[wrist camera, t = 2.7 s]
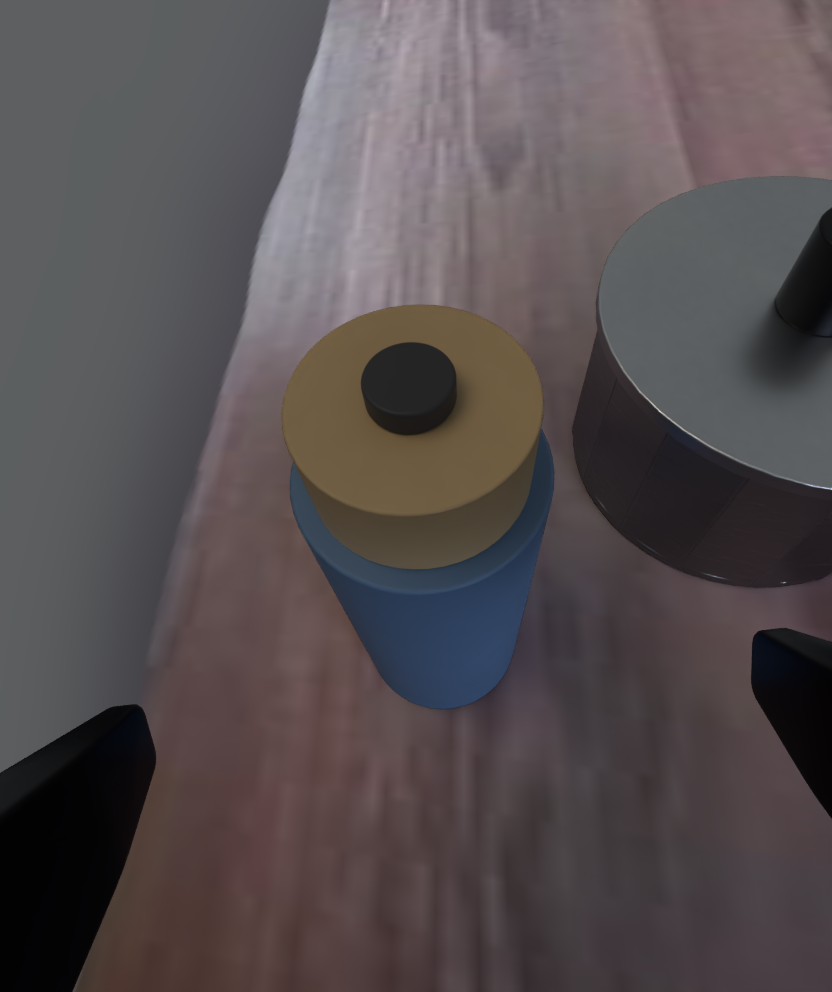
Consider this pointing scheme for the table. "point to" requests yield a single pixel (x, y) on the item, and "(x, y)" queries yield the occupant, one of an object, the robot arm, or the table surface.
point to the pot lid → (731, 325)
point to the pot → (691, 497)
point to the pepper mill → (423, 490)
